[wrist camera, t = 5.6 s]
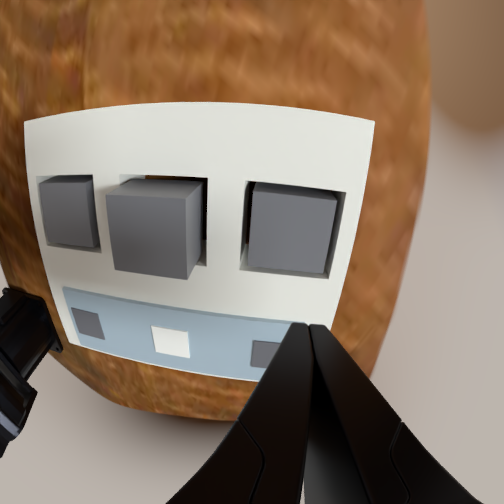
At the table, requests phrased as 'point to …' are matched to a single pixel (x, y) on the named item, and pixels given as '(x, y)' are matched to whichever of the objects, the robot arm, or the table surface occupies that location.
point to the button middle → (156, 226)
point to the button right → (290, 227)
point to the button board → (218, 228)
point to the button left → (70, 210)
